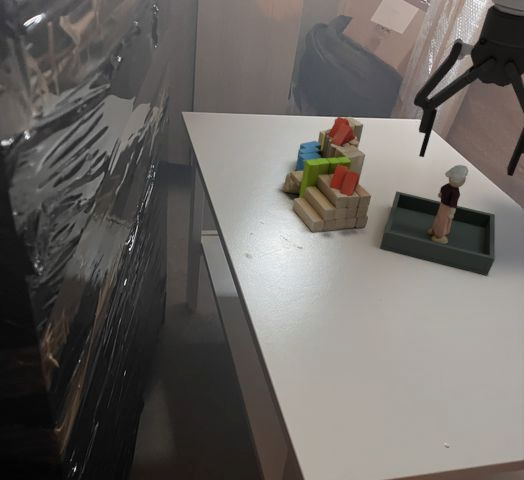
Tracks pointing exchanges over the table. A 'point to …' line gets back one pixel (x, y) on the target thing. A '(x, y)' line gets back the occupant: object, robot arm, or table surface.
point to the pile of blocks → (331, 179)
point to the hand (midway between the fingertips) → (465, 163)
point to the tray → (459, 238)
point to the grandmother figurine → (448, 203)
